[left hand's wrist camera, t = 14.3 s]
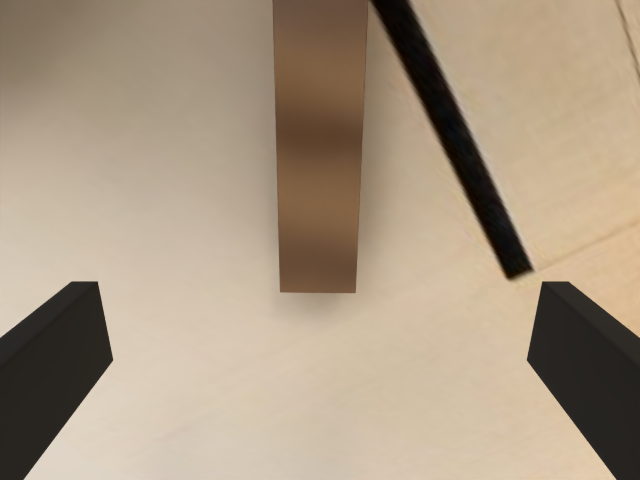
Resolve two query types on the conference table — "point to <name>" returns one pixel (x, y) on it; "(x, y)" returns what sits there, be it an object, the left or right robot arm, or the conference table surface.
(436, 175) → the conference table surface
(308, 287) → the bar
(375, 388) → the conference table surface
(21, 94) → the conference table surface
